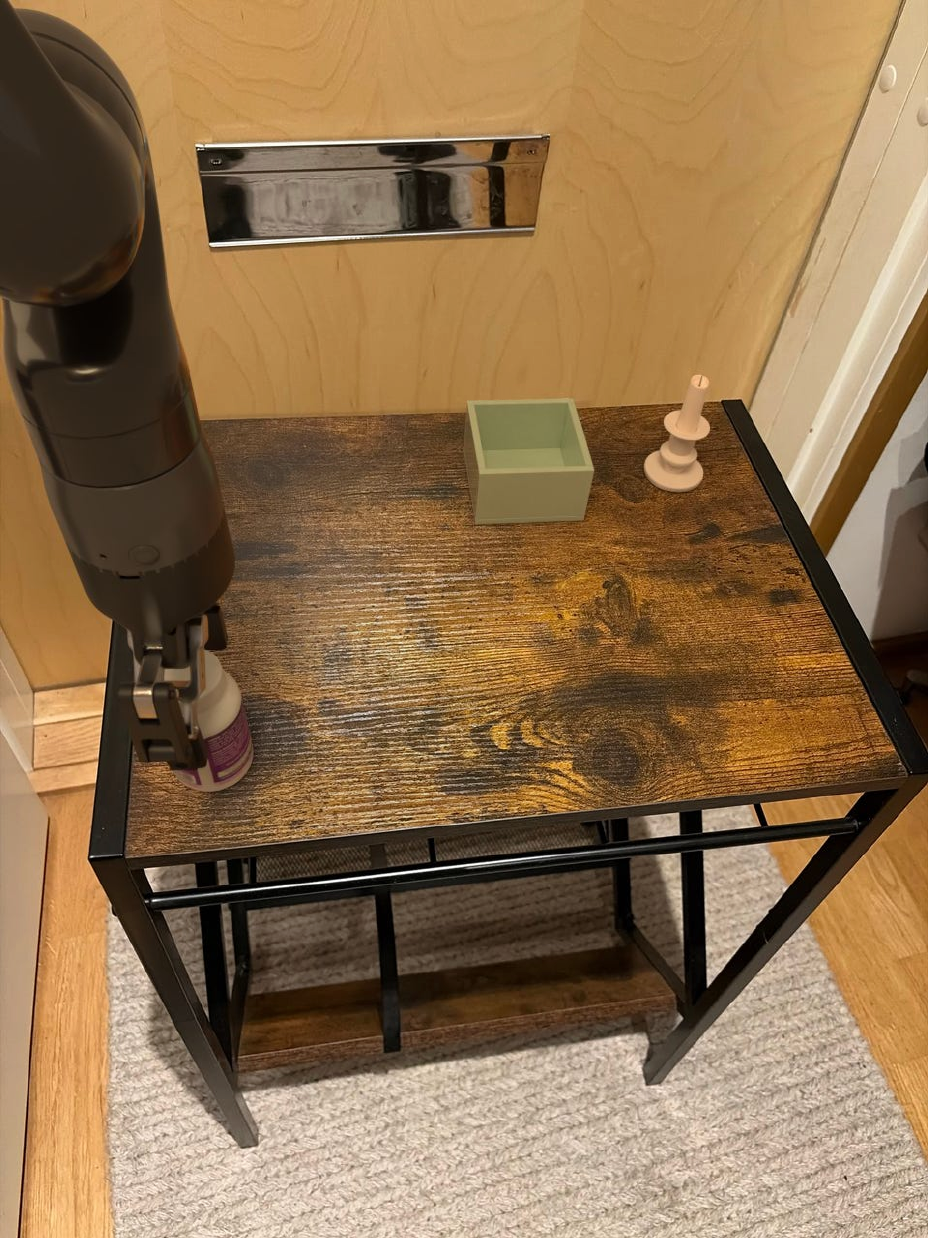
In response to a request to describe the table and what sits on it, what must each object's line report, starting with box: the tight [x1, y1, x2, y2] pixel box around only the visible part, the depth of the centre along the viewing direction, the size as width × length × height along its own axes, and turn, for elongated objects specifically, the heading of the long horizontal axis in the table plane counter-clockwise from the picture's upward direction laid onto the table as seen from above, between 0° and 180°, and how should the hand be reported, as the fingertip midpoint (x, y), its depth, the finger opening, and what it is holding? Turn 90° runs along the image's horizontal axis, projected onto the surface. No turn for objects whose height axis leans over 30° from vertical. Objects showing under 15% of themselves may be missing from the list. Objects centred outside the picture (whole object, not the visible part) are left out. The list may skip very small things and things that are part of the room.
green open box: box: [462, 397, 595, 526], centre depth 79 cm, size 9×9×6 cm
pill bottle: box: [164, 650, 254, 793], centre depth 59 cm, size 5×5×10 cm
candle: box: [642, 374, 711, 493], centre depth 79 cm, size 5×5×10 cm
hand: (200, 702), depth 57 cm, fingers open, 8 cm apart
